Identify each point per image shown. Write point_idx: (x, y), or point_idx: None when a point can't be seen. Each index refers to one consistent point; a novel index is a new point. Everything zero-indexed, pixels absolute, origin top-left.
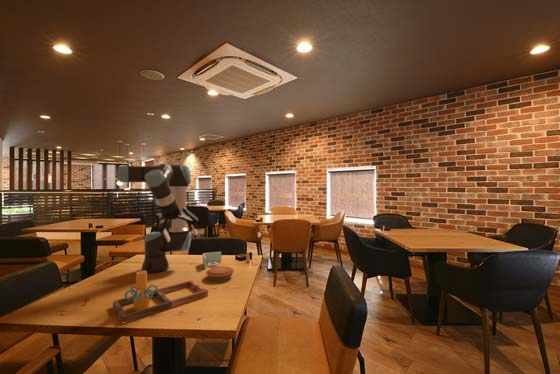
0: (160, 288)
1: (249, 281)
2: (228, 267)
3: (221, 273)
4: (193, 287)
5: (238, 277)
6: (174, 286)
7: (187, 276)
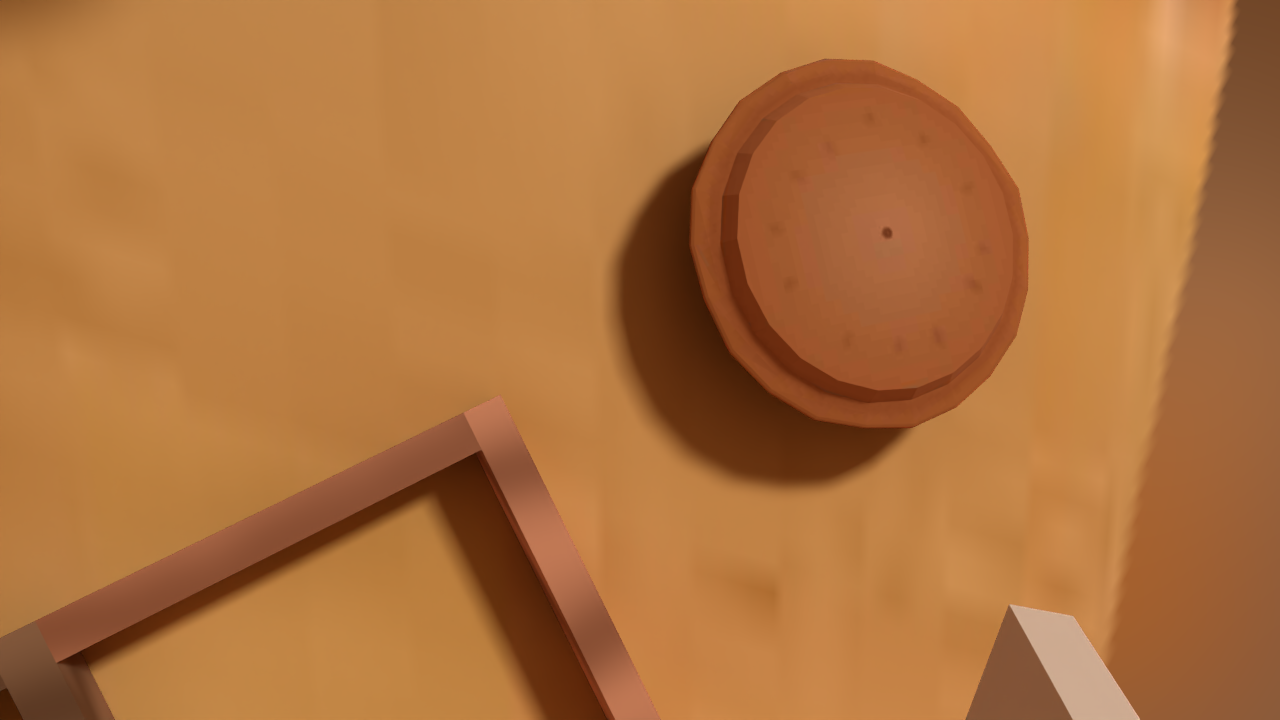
0: (73, 609)
1: (1119, 494)
2: (982, 186)
3: (892, 390)
4: (524, 548)
5: (1022, 331)
6: (275, 551)
7: (423, 63)
